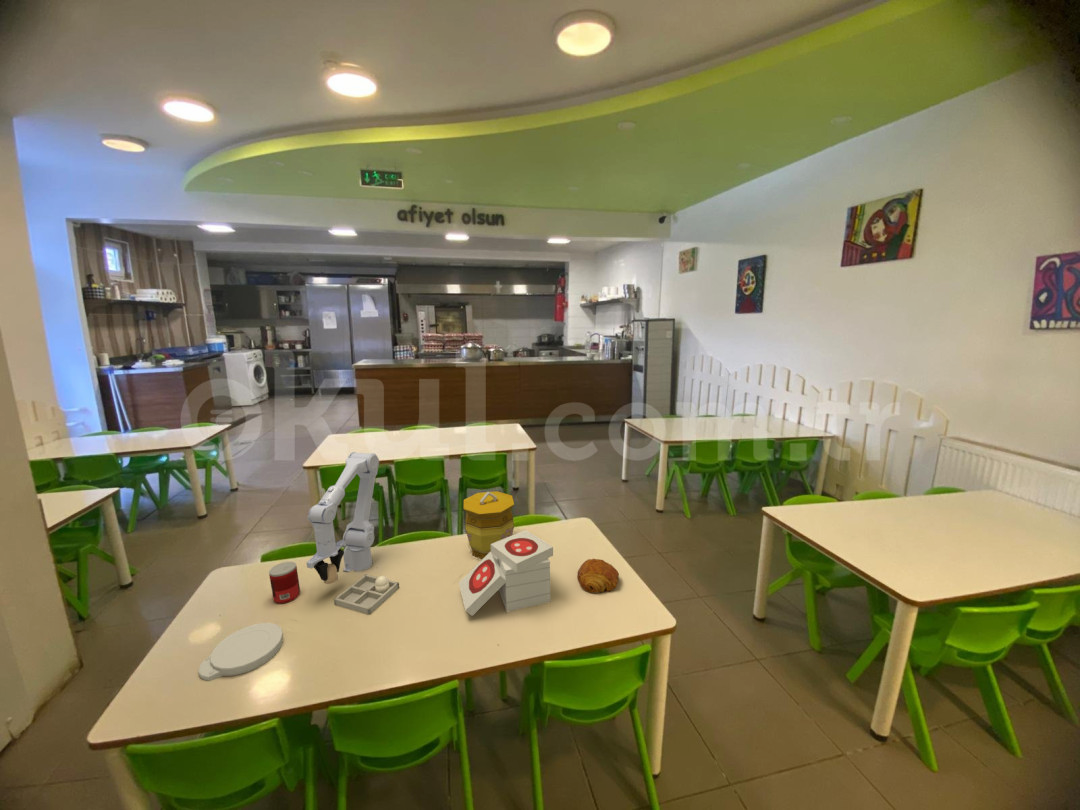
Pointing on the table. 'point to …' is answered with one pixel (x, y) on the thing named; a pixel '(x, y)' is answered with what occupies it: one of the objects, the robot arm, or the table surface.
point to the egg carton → (364, 595)
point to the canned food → (284, 582)
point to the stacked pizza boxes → (510, 574)
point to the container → (488, 520)
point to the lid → (242, 651)
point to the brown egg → (331, 574)
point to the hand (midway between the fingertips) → (330, 575)
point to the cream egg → (382, 584)
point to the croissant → (597, 576)
